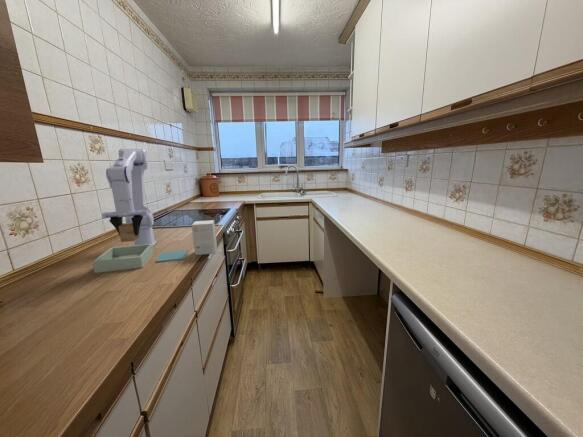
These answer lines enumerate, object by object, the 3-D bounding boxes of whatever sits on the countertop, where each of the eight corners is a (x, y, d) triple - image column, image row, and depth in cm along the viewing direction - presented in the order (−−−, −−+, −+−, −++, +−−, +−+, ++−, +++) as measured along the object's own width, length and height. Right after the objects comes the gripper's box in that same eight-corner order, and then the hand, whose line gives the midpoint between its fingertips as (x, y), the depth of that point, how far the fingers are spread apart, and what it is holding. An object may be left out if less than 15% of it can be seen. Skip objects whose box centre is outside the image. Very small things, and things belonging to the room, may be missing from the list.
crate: (113, 258, 99) (111, 247, 98) (154, 253, 102) (152, 243, 101) (94, 273, 85) (92, 261, 84) (142, 268, 88) (140, 256, 87)
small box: (217, 248, 106) (214, 219, 103) (215, 253, 100) (212, 223, 97) (198, 250, 105) (194, 220, 102) (194, 255, 99) (191, 224, 96)
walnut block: (126, 238, 94) (123, 223, 92) (139, 237, 95) (136, 222, 93) (121, 242, 90) (118, 226, 88) (134, 240, 91) (132, 225, 89)
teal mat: (162, 253, 102) (161, 252, 102) (187, 250, 104) (187, 249, 104) (155, 262, 92) (155, 261, 92) (183, 259, 95) (183, 258, 95)
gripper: (94, 202, 83) (102, 240, 86) (141, 200, 87) (147, 236, 90) (104, 199, 90) (111, 234, 93) (148, 197, 93) (153, 231, 96)
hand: (129, 235), depth 92 cm, fingers closed on walnut block, 4 cm apart
